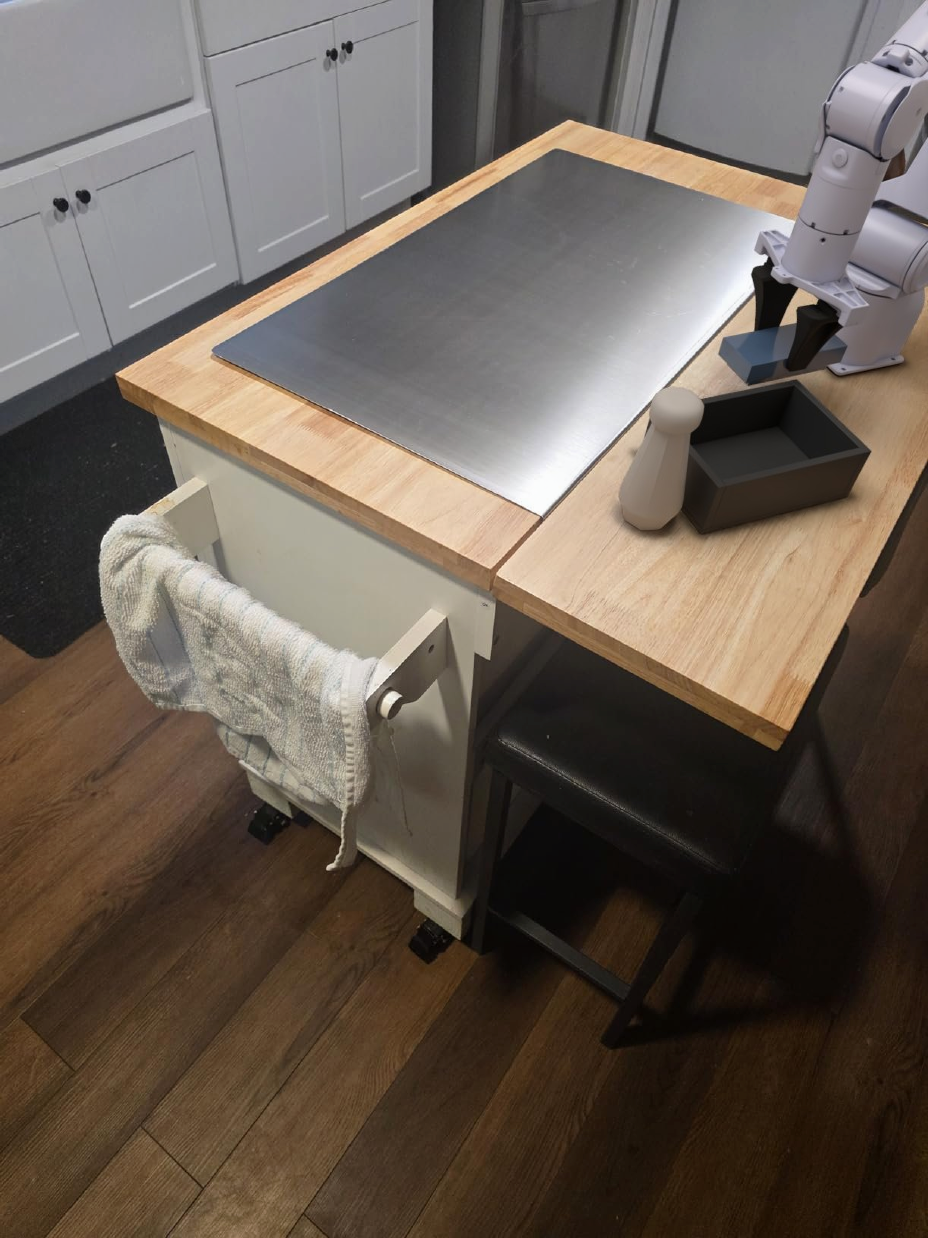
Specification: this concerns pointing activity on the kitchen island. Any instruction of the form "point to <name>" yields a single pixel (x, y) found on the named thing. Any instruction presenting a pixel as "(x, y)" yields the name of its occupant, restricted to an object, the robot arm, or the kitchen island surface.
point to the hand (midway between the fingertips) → (779, 352)
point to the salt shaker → (661, 460)
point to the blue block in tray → (773, 354)
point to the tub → (767, 456)
